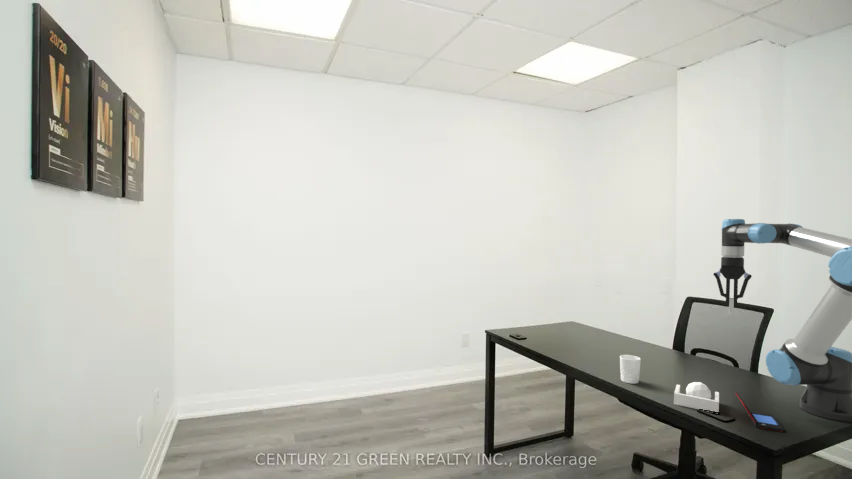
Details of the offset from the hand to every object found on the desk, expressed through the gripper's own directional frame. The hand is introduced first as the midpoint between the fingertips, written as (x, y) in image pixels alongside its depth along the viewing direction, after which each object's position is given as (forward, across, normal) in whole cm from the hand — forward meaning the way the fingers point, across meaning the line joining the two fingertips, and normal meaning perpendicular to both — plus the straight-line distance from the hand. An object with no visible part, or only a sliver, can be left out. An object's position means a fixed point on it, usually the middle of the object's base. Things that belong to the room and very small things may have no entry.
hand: (731, 314), depth 172 cm
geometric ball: (+30, +10, +29) cm, 43 cm away
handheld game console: (+30, -7, +35) cm, 47 cm away
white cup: (+30, +34, +19) cm, 49 cm away
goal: (+29, +10, +30) cm, 43 cm away
